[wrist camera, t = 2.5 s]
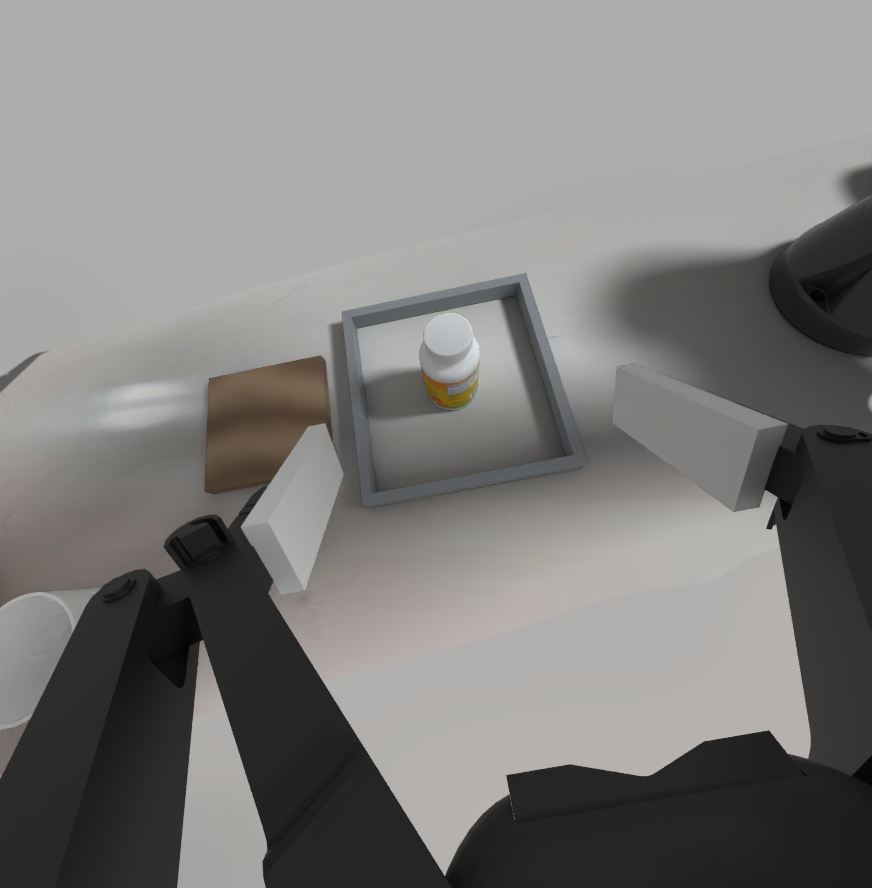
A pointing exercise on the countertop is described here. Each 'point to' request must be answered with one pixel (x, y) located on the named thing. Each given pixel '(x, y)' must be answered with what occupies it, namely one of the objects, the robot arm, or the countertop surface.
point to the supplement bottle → (450, 361)
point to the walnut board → (261, 420)
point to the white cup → (34, 647)
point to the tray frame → (439, 303)
